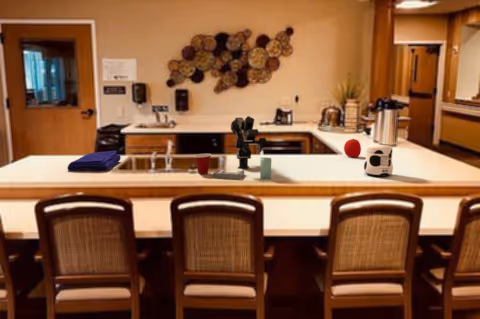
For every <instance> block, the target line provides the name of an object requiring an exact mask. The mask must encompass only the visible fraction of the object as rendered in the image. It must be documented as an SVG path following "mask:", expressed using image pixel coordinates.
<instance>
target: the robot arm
mask: <svg viewBox="0 0 480 319" xmlns="http://www.w3.org/2000/svg"><path fill="white" fill-rule="evenodd" d="M230 123H231V124H230V130H231V132H232V134H234V135H235V138H236V139H235V143H234V144H235V148H236V149H237V152H236V159H237V160H238V162H239V164H238V167H237V169H249V167H250V166H249V160H250V159H252V152H253V151H252V150H251V148H250V146H254V145H258V150H259V152H260V153H261V152H262V149H263V148H264V147H266V143H267V139H266V137H259V138H258V140H256V138H257V137H256V136H257V135H259V129H258V128H254V126H255V125H254V124H255V119H254V117H251V116H250V115H247V116H246V117H245V119H244V118H243V117H235V118H234V120H233V121H231V122H230Z"/></svg>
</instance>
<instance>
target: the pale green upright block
mask: <svg viewBox="0 0 480 319" xmlns="http://www.w3.org/2000/svg"><path fill="white" fill-rule="evenodd" d="M259 169H260V172H259V177H260V179H261V180H271V179H272V158H271V157H260V164H259Z"/></svg>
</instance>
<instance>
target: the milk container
mask: <svg viewBox="0 0 480 319" xmlns="http://www.w3.org/2000/svg"><path fill="white" fill-rule="evenodd" d="M365 151H366V152H365V161H364V164H363V170H364V173H365V174H366V175H368V176H374V177H387V176H390V175H392V174H393V170H394V165H393V146H391V145H387V144H386V145H385V144H368V145H367V146H366V150H365Z"/></svg>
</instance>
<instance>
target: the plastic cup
mask: <svg viewBox="0 0 480 319" xmlns="http://www.w3.org/2000/svg"><path fill="white" fill-rule="evenodd" d="M211 156H212V154H211V153H199V154H195V155H194V156H193V157H194V159H195V163H196V168H197V172H198V174H199V175H207V174H208V173H209V168H210V163H211Z"/></svg>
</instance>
